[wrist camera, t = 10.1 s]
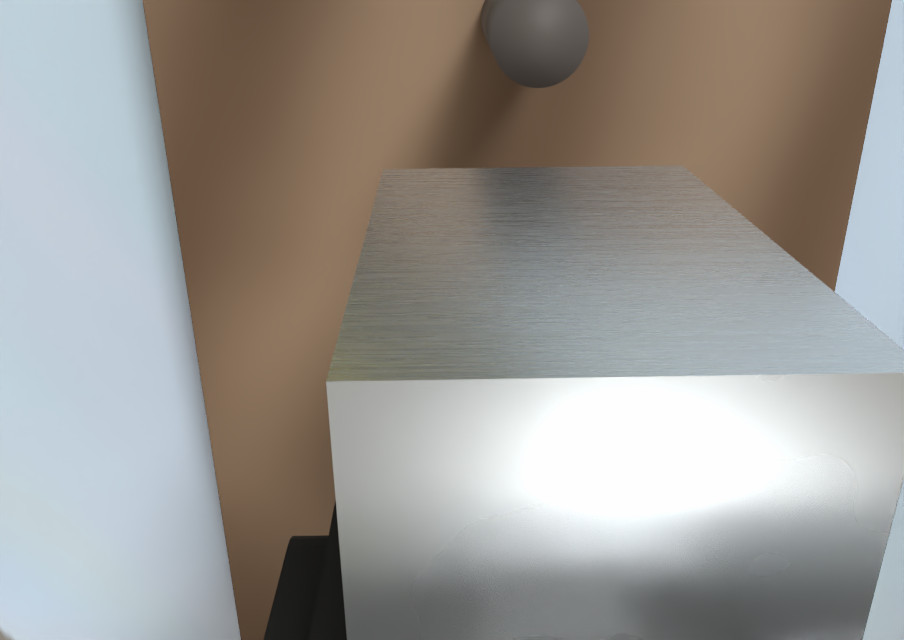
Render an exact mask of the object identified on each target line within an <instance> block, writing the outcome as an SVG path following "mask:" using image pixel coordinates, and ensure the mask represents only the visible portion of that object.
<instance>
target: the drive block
mask: <svg viewBox="0 0 904 640" xmlns="http://www.w3.org/2000/svg"><path fill="white" fill-rule="evenodd" d="M326 387H327V399H328V412H329V424H330V436H331V449H332V461H333V473H334V486H335V498H336V510H337V523H338V535H339V547H340V559H341V572H342V584H343V596H344V609H345V621H346V633H347V640H862V639H863V635H864V631H865V627H866V623H867V619H868V615H869V611H870V607H871V603H872V600H873V596H874V592H875V588H876V584H877V580H878V576H879V572H880V568H881V564H882V561H883V557H884V553H885V549H886V545H887V541H888V537H889V533H890V529H891V525H892V522H893V518H894V514H895V510H896V506H897V502H898V498H899V494H900V490H901V486H902V483H903V479H904V350H903V349H902V348H901V347H900V346H899V345H897V344H896V343H895V342H894V341H893V340H891V339H890V338H889V337H888V336H887V335H885V334H884V333H883V332H882V331H881V330H879V329H878V328H877V327H876V326H875V325H873V324H872V323H871V322H870V321H869V320H867V319H866V318H865V317H864V316H863V315H861V314H860V313H859V312H858V311H857V310H855V309H854V308H853V307H852V306H851V305H849V304H848V303H847V302H846V301H845V300H843V299H842V298H841V297H840V296H839V295H837V294H836V293H835V292H834V291H833V290H831V289H830V288H829V287H828V286H827V285H825V284H824V283H823V282H822V281H821V280H819V279H818V278H817V277H816V276H815V275H813V274H812V273H811V272H810V271H809V270H807V269H806V268H805V267H804V266H803V265H801V264H800V263H799V262H798V261H797V260H795V259H794V258H793V257H792V256H791V255H789V254H788V253H787V252H786V251H785V250H783V249H782V248H781V247H780V246H779V245H777V244H776V243H775V242H774V241H773V240H771V239H770V238H769V237H768V236H767V235H765V234H764V233H763V232H762V231H761V230H759V229H758V228H757V227H756V226H755V225H753V224H752V223H751V222H750V221H749V220H747V219H746V218H745V217H744V216H743V215H741V214H740V213H739V212H738V211H737V210H735V209H734V208H733V207H732V206H731V205H729V204H728V203H727V202H726V201H725V200H723V199H722V198H721V197H720V196H719V195H717V194H716V193H715V192H714V191H713V190H711V189H710V188H709V187H708V186H707V185H705V184H704V183H703V182H702V181H701V180H699V179H698V178H697V177H696V176H695V175H693V174H692V173H691V172H690V171H689V170H687V169H686V168H685V167H684V166H683V165H665V166H587V167H508V168H430V169H383V172H382V175H381V179H380V183H379V187H378V190H377V194H376V198H375V201H374V205H373V209H372V213H371V216H370V220H369V224H368V228H367V231H366V235H365V239H364V242H363V246H362V250H361V254H360V257H359V261H358V265H357V268H356V272H355V276H354V280H353V283H352V287H351V291H350V294H349V298H348V302H347V306H346V309H345V313H344V317H343V320H342V324H341V328H340V332H339V335H338V339H337V343H336V346H335V350H334V354H333V358H332V361H331V365H330V369H329V372H328V376H327V380H326Z"/></svg>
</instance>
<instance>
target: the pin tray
mask: <svg viewBox="0 0 904 640" xmlns="http://www.w3.org/2000/svg"><path fill="white" fill-rule="evenodd" d="M891 2H892V0H143V5H144V12H145V18H146V25H147V31H148V38H149V44H150V51H151V57H152V64H153V70H154V77H155V83H156V90H157V96H158V103H159V109H160V116H161V122H162V129H163V135H164V142H165V148H166V155H167V161H168V168H169V174H170V181H171V187H172V194H173V200H174V207H175V213H176V220H177V226H178V233H179V239H180V246H181V252H182V259H183V265H184V272H185V278H186V285H187V291H188V298H189V304H190V311H191V317H192V324H193V330H194V337H195V343H196V350H197V356H198V363H199V369H200V376H201V382H202V389H203V395H204V402H205V408H206V415H207V421H208V428H209V434H210V441H211V447H212V454H213V460H214V467H215V473H216V480H217V486H218V493H219V499H220V506H221V512H222V519H223V525H224V532H225V538H226V545H227V551H228V558H229V564H230V571H231V577H232V584H233V590H234V597H235V603H236V610H237V616H238V623H239V629H240V636H241V640H263V639H264V635H265V631H266V628H267V624H268V620H269V616H270V612H271V608H272V604H273V600H274V597H275V593H276V589H277V585H278V581H279V577H280V573H281V569H282V566H283V562H284V558H285V554H286V550H287V546H288V543H289V540H290V538H291V537H292V536H318V535H329V531H330V525H331V520H332V515H333V510H334V504H335V499H336V498H335V486H334V473H333V461H332V449H331V436H330V424H329V412H328V399H327V387H326V380H327V376H328V372H329V369H330V365H331V361H332V358H333V354H334V350H335V346H336V343H337V339H338V335H339V332H340V328H341V324H342V320H343V317H344V313H345V309H346V306H347V302H348V298H349V294H350V291H351V287H352V283H353V280H354V276H355V272H356V268H357V265H358V261H359V257H360V254H361V250H362V246H363V242H364V239H365V235H366V231H367V228H368V224H369V220H370V216H371V213H372V209H373V205H374V201H375V198H376V194H377V190H378V187H379V183H380V179H381V175H382V172H383V169H430V168H508V167H587V166H665V165H683V166H684V167H685V168H686V169H687V170H689V171H690V172H691V173H692V174H693V175H695V176H696V177H697V178H698V179H699V180H701V181H702V182H703V183H704V184H705V185H707V186H708V187H709V188H710V189H711V190H713V191H714V192H715V193H716V194H717V195H719V196H720V197H721V198H722V199H723V200H725V201H726V202H727V203H728V204H729V205H731V206H732V207H733V208H734V209H735V210H737V211H738V212H739V213H740V214H741V215H743V216H744V217H745V218H746V219H747V220H749V221H750V222H751V223H752V224H753V225H755V226H756V227H757V228H758V229H759V230H761V231H762V232H763V233H764V234H765V235H767V236H768V237H769V238H770V239H771V240H773V241H774V242H775V243H776V244H777V245H779V246H780V247H781V248H782V249H783V250H785V251H786V252H787V253H788V254H789V255H791V256H792V257H793V258H794V259H795V260H797V261H798V262H799V263H800V264H801V265H803V266H804V267H805V268H806V269H807V270H809V271H810V272H811V273H812V274H813V275H815V276H816V277H817V278H818V279H819V280H821V281H822V282H823V283H824V284H825V285H827V286H828V287H829V288H830V289H831V290H833V291H835V286H836V281H837V276H838V271H839V266H840V260H841V255H842V250H843V245H844V240H845V235H846V230H847V225H848V220H849V215H850V210H851V205H852V200H853V195H854V190H855V185H856V180H857V174H858V169H859V164H860V159H861V154H862V149H863V144H864V139H865V134H866V129H867V124H868V119H869V114H870V109H871V104H872V99H873V94H874V88H875V83H876V78H877V73H878V68H879V63H880V58H881V53H882V48H883V43H884V38H885V33H886V28H887V23H888V18H889V13H890V8H891Z"/></svg>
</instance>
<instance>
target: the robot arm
mask: <svg viewBox="0 0 904 640" xmlns="http://www.w3.org/2000/svg"><path fill="white" fill-rule="evenodd" d="M263 640H347V633H346V621H345V609H344V596H343V584H342V572H341V559H340V547H339V535H338V523H337V510H336V499H335V504H334V510H333V515H332V520H331V525H330V531H329V535H318V536H292V537H291V538H290V540H289V543H288V546H287V550H286V554H285V558H284V562H283V566H282V569H281V573H280V577H279V581H278V585H277V589H276V593H275V597H274V600H273V604H272V608H271V612H270V616H269V620H268V624H267V628H266V631H265V635H264V639H263Z"/></svg>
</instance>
